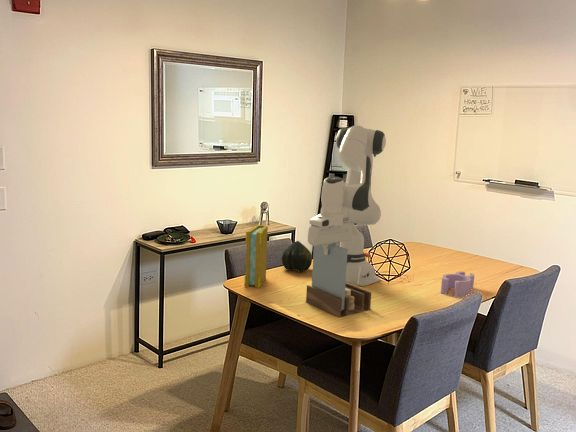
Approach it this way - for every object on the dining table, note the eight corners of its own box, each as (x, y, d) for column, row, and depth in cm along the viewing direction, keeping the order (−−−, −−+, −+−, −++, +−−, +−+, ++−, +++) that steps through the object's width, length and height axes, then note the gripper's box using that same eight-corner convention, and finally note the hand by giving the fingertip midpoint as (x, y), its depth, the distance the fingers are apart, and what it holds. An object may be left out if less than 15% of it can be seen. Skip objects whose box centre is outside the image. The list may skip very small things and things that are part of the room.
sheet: (314, 296, 237) (316, 239, 233) (344, 309, 223) (347, 249, 219) (311, 297, 237) (313, 239, 232) (340, 310, 223) (344, 249, 218)
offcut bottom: (330, 299, 241) (331, 293, 240) (354, 309, 230) (354, 303, 229) (321, 301, 238) (322, 295, 237) (345, 311, 227) (345, 305, 226)
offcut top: (334, 289, 239) (335, 283, 238) (350, 295, 231) (350, 289, 230) (325, 290, 236) (325, 284, 236) (340, 297, 228) (341, 291, 227)
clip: (454, 283, 277) (455, 269, 276) (479, 289, 269) (481, 275, 268) (435, 292, 262) (436, 277, 261) (461, 299, 254) (463, 284, 253)
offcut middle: (332, 294, 239) (333, 289, 239) (354, 303, 230) (354, 296, 230) (324, 297, 236) (324, 291, 235) (345, 305, 227) (345, 299, 227)
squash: (295, 265, 276) (308, 239, 281) (272, 260, 285) (285, 235, 291) (309, 280, 285) (321, 255, 291) (286, 275, 295) (298, 250, 300)
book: (258, 287, 257) (260, 232, 253) (244, 286, 259) (245, 231, 254) (267, 277, 274) (269, 225, 269) (254, 276, 275) (255, 224, 270)
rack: (336, 298, 248) (337, 279, 246) (371, 312, 231) (373, 292, 230) (303, 305, 237) (304, 285, 235) (338, 321, 221) (339, 300, 219)
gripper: (345, 215, 232) (343, 249, 235) (306, 220, 220) (304, 255, 223) (356, 218, 228) (354, 252, 230) (316, 223, 215) (315, 259, 218)
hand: (329, 254), depth 226 cm, fingers closed on sheet, 2 cm apart
